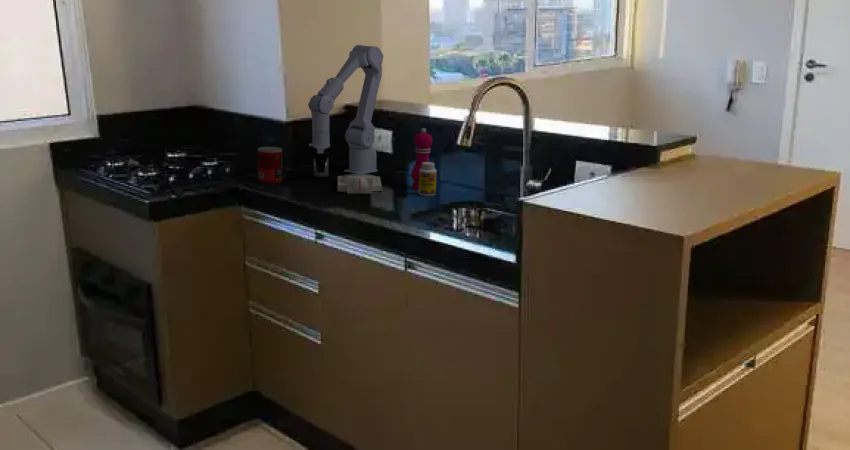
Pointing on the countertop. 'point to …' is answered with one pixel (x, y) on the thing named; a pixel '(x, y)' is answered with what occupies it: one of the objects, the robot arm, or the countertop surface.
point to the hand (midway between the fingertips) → (321, 170)
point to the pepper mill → (420, 155)
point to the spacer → (326, 172)
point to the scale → (359, 183)
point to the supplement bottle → (427, 179)
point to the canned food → (270, 164)
